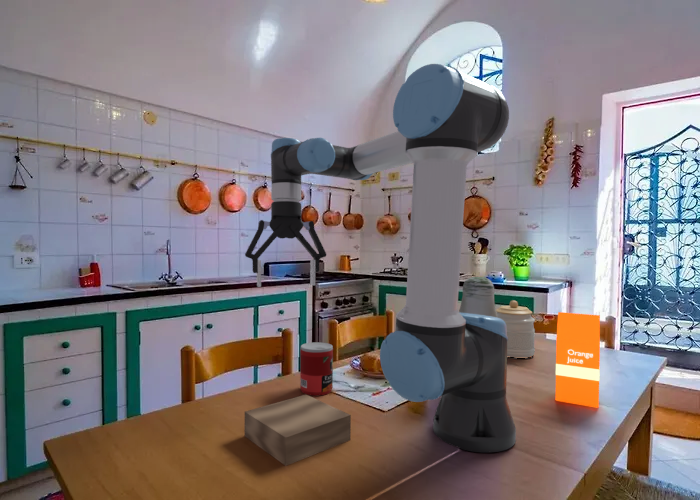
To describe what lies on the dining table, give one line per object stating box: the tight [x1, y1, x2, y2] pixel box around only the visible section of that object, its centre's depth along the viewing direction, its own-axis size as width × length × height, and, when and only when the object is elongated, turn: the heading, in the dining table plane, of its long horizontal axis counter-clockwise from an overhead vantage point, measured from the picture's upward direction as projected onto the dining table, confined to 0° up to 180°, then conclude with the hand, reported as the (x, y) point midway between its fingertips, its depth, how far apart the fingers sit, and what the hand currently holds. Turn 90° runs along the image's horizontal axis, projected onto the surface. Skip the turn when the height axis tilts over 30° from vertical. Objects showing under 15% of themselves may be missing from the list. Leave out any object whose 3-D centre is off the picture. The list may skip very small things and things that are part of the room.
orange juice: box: [554, 311, 601, 409], centre depth 100 cm, size 8×9×20 cm
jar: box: [495, 300, 536, 357], centre depth 140 cm, size 13×13×18 cm
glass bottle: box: [458, 276, 498, 318], centre depth 105 cm, size 10×10×28 cm
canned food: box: [299, 341, 334, 397], centre depth 104 cm, size 8×8×11 cm
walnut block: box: [244, 394, 352, 467], centre depth 79 cm, size 14×14×5 cm
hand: (286, 285), depth 108 cm, fingers open, 13 cm apart
